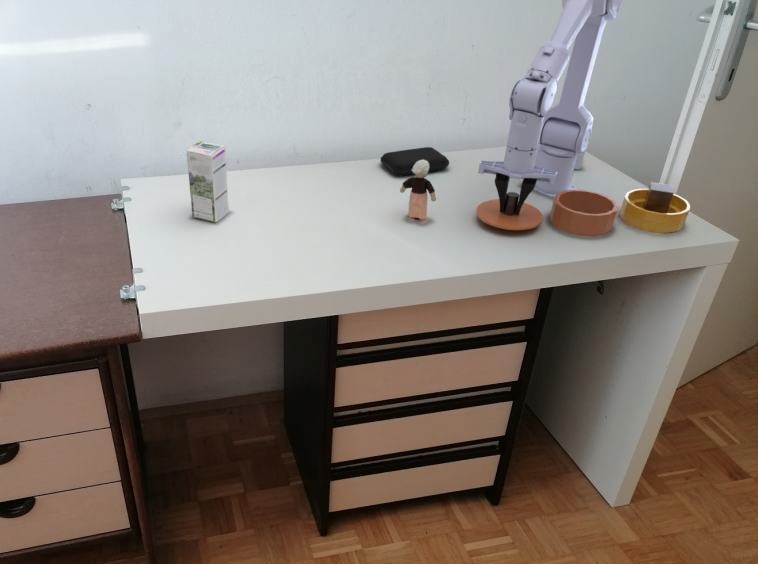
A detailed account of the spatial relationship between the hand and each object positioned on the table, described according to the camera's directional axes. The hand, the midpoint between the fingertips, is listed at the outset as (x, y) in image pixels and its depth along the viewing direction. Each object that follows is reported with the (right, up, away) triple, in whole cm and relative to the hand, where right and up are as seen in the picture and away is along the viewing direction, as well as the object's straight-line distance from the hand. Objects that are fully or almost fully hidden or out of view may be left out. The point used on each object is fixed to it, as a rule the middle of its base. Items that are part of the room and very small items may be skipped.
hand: (509, 211), depth 146 cm
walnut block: (+30, -1, +4) cm, 30 cm away
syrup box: (-60, 0, +4) cm, 60 cm away
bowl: (+30, -1, +4) cm, 30 cm away
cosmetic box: (+23, +16, +28) cm, 40 cm away
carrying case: (-15, +15, +26) cm, 34 cm away
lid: (0, -1, 0) cm, 1 cm away
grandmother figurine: (-18, -1, +3) cm, 19 cm away
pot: (+15, -2, +2) cm, 15 cm away
